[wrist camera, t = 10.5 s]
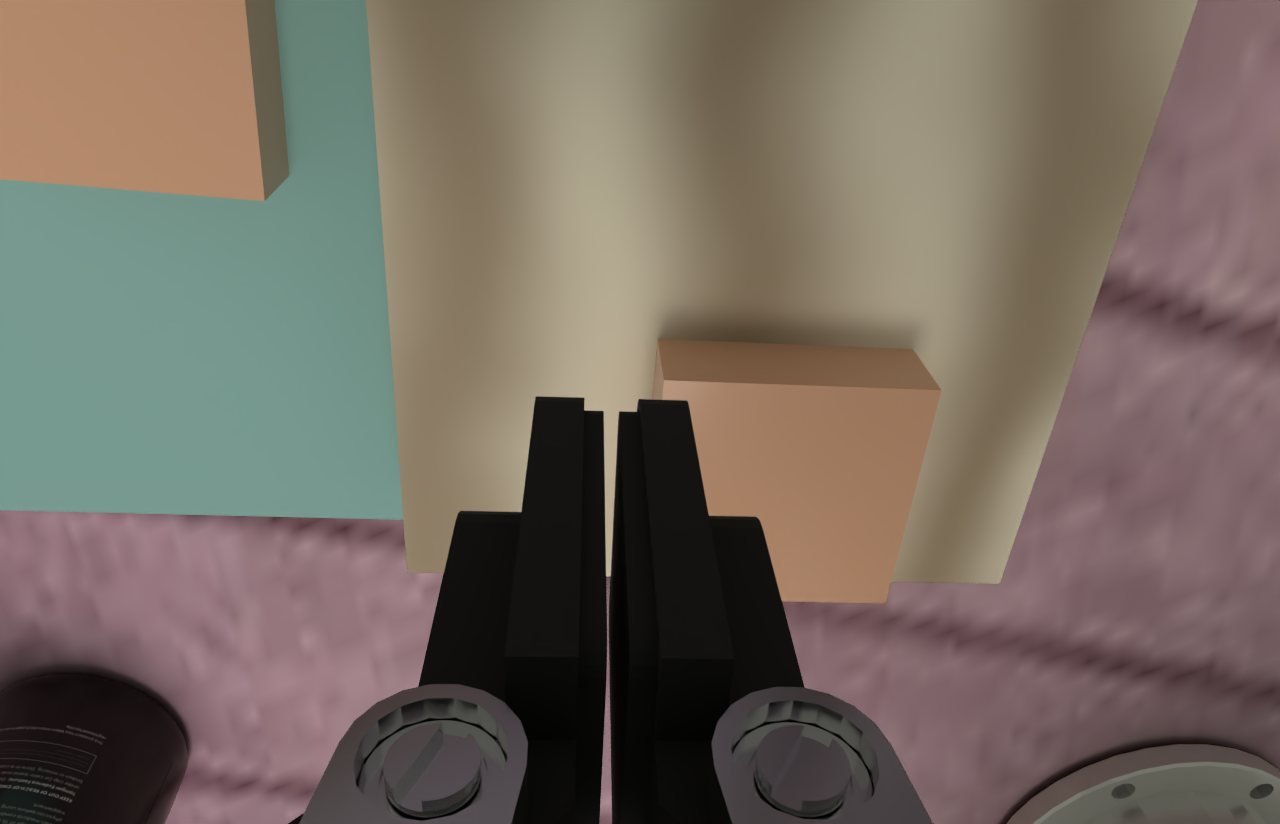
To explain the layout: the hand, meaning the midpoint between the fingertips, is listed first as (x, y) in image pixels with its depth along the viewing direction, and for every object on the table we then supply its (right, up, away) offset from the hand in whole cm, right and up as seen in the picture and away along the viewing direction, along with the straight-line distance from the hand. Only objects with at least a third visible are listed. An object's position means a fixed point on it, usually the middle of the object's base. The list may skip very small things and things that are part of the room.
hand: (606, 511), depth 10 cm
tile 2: (+4, 0, +11) cm, 12 cm away
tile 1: (-11, +9, +9) cm, 17 cm away
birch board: (+3, +6, +14) cm, 15 cm away
